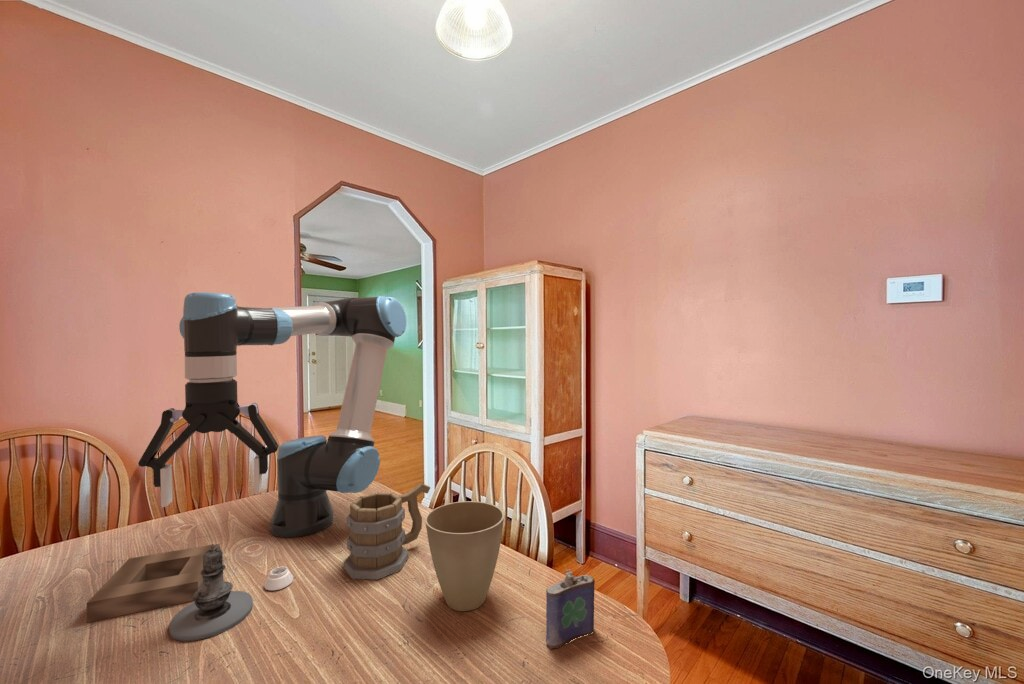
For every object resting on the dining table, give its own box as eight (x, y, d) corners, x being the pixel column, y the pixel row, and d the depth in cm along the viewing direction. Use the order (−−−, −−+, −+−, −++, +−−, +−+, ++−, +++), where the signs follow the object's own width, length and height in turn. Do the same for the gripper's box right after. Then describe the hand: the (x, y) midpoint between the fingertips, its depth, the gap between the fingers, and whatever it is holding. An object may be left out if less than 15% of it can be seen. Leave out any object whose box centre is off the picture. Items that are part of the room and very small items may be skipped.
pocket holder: (220, 558, 93) (219, 543, 93) (198, 599, 78) (197, 581, 78) (129, 574, 87) (129, 558, 87) (86, 622, 72) (86, 602, 72)
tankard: (359, 587, 82) (358, 513, 82) (337, 562, 92) (337, 495, 91) (444, 553, 95) (444, 488, 95) (418, 534, 105) (418, 475, 105)
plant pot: (514, 584, 83) (514, 505, 83) (486, 634, 69) (486, 539, 69) (448, 571, 88) (448, 496, 88) (409, 615, 74) (409, 526, 74)
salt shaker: (211, 624, 70) (211, 554, 70) (183, 620, 71) (183, 550, 71) (240, 602, 76) (240, 537, 76) (214, 599, 77) (213, 535, 77)
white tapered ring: (280, 576, 87) (258, 589, 82) (280, 562, 87) (258, 574, 82) (298, 580, 85) (277, 594, 80) (298, 566, 85) (277, 579, 80)
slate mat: (257, 590, 81) (257, 585, 81) (245, 629, 70) (245, 623, 70) (183, 605, 77) (183, 600, 77) (157, 650, 66) (157, 643, 66)
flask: (551, 651, 65) (551, 584, 65) (541, 639, 68) (541, 574, 68) (597, 633, 69) (597, 569, 69) (587, 622, 72) (587, 561, 72)
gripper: (292, 374, 82) (294, 480, 82) (131, 381, 72) (134, 501, 72) (288, 378, 75) (290, 493, 75) (110, 386, 65) (113, 518, 65)
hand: (214, 497), depth 74 cm, fingers open, 13 cm apart
